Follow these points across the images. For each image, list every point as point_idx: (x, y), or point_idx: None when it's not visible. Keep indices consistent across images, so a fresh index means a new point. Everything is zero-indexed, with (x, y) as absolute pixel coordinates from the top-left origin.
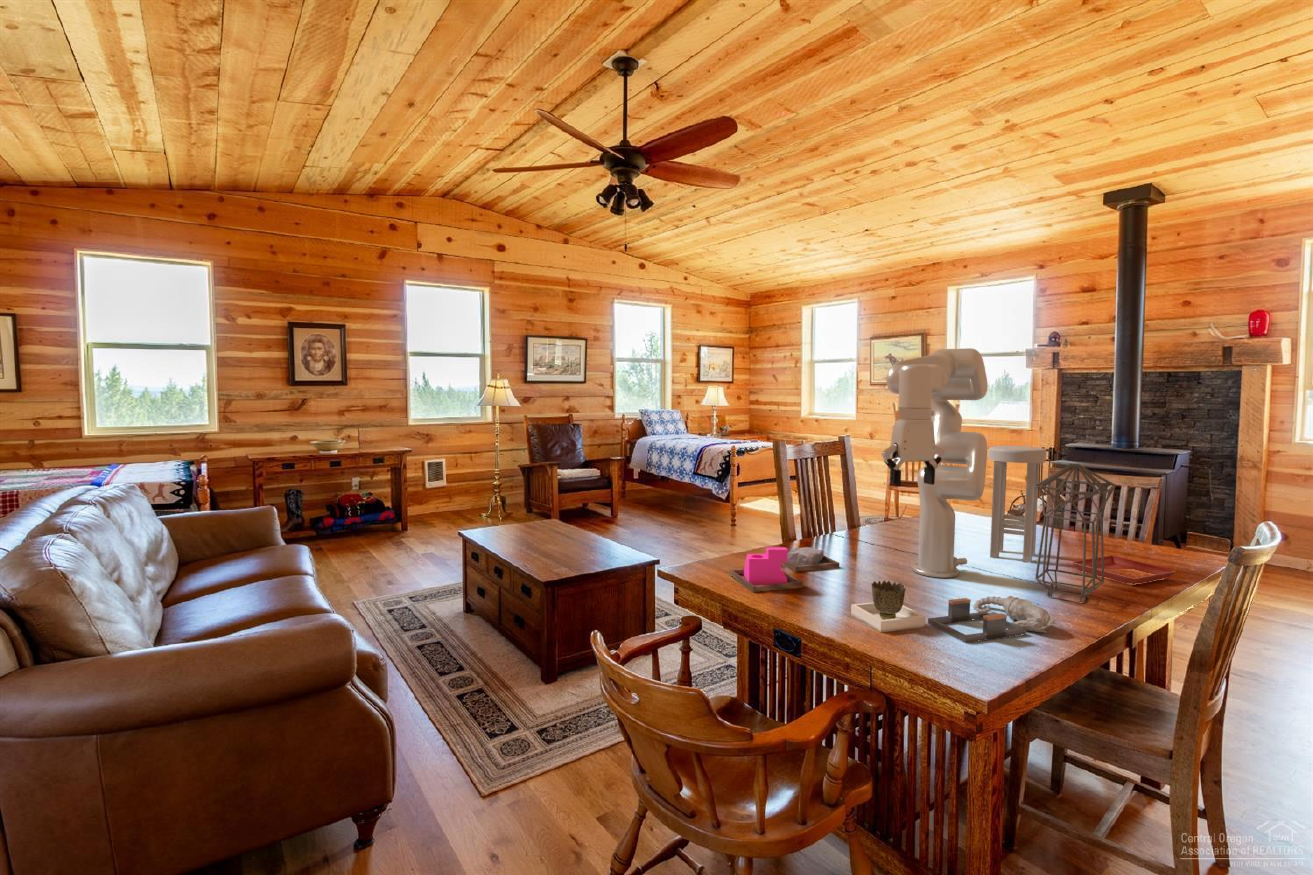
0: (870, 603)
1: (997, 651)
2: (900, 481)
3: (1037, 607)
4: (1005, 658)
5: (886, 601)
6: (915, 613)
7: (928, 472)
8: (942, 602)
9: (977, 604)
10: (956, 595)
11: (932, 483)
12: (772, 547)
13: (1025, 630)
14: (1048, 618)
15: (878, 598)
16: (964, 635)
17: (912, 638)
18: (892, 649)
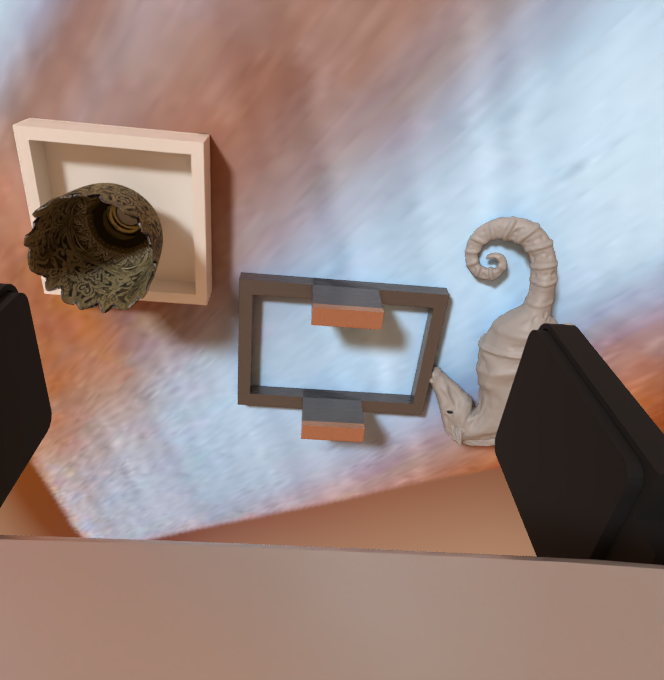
0: (94, 142)
1: (272, 444)
2: (24, 458)
3: None
4: (259, 469)
5: (74, 274)
6: (195, 275)
7: (559, 507)
8: (441, 136)
9: (492, 237)
10: (562, 90)
11: (502, 455)
12: None
13: (418, 414)
14: (488, 438)
15: (52, 252)
16: (244, 395)
17: (126, 336)
18: None
